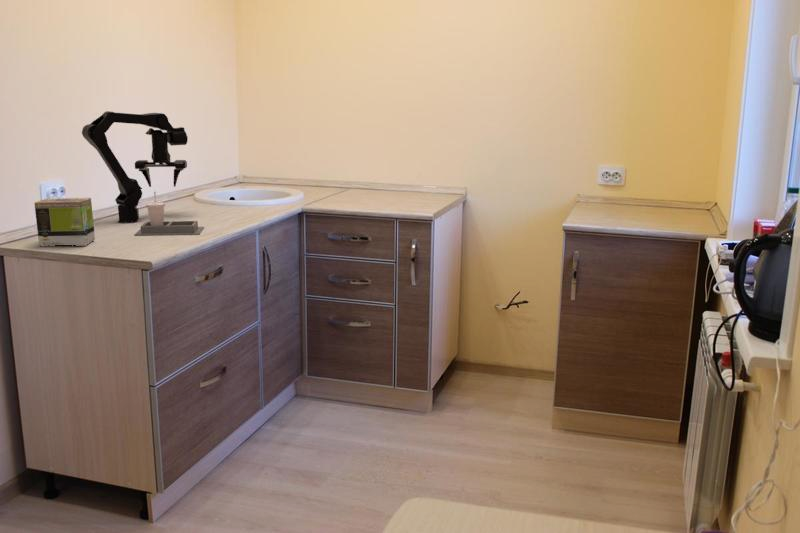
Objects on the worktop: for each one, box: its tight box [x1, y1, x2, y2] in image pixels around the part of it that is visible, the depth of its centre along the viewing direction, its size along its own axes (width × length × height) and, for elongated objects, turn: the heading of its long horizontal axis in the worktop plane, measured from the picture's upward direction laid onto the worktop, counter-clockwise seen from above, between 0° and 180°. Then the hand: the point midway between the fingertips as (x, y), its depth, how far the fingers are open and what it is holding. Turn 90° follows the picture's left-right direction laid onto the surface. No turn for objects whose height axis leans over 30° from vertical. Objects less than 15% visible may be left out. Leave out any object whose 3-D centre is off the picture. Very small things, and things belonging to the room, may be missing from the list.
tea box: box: [34, 197, 96, 247], centre depth 258 cm, size 15×10×15 cm
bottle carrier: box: [134, 220, 205, 237], centre depth 280 cm, size 22×13×3 cm, turn 97°
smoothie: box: [145, 191, 166, 226], centre depth 278 cm, size 6×6×14 cm
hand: (162, 186), depth 306 cm, fingers open, 9 cm apart
